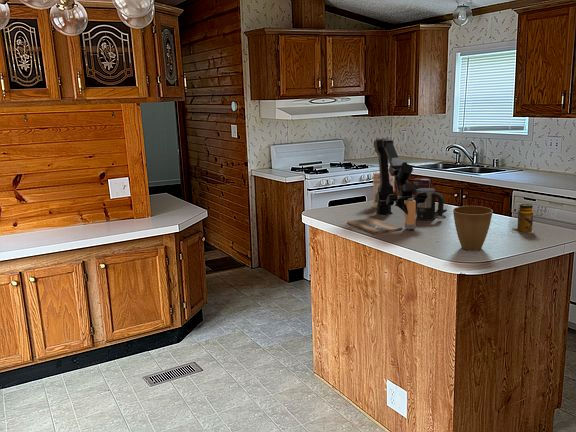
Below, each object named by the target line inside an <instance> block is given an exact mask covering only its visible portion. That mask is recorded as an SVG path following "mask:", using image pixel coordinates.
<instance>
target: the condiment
mask: <svg viewBox="0 0 576 432" xmlns="http://www.w3.org/2000/svg"><path fill="white" fill-rule="evenodd" d="M517 214H518V215H517V227H516V228H515V227H512V228H511V231H512V233H516V234H517V233H518V234H519V233H521V234H534V231H533V223H534V219H533V218H534V211H533V204H530V203H521V204H520V205H519V209H518V212H517Z"/></svg>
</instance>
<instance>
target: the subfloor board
mask: <svg viewBox="0 0 576 432" xmlns="http://www.w3.org/2000/svg"><path fill="white" fill-rule="evenodd" d="M346 224H348V225H350V226H353V227H354V228H357V229H360V230H363V231H366V232H368V233H371V234H373V235H378V234H379V235H380V234H384V233H385V234H386V233H392V232H397V230H398V231H403V227H402V226H398V225H395V224H393V223H389V222H386V221H385V220H382V219H379V218H375V217H366V218H363V219H353V220H348V221H347V222H346Z"/></svg>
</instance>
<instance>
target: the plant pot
mask: <svg viewBox="0 0 576 432" xmlns="http://www.w3.org/2000/svg"><path fill="white" fill-rule="evenodd" d="M493 211H494V210H493V209H491V207H486V206H480V205H463V206H457V207H454V208H452V213H453V219H454V226H455V230H456V234H457V237H458V240H459V243H460V246H461V248H463V249H462V250H464V249H466V250H465V251H469V250H477V251H480V250H481V249H482V248H483V246H484V243H485V241H486V238H487V236H488V232H489V229H490V226H491V221H492V218H493V216H492V215H493ZM479 249H480V250H479Z"/></svg>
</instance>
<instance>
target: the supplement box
mask: <svg viewBox="0 0 576 432" xmlns="http://www.w3.org/2000/svg"><path fill="white" fill-rule="evenodd" d="M414 182H418V185H419V188H418V189H420V188H431V178H414V179H413V181H412V183H414ZM412 195H417V191H416V190H414V193H413V194H412Z"/></svg>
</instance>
